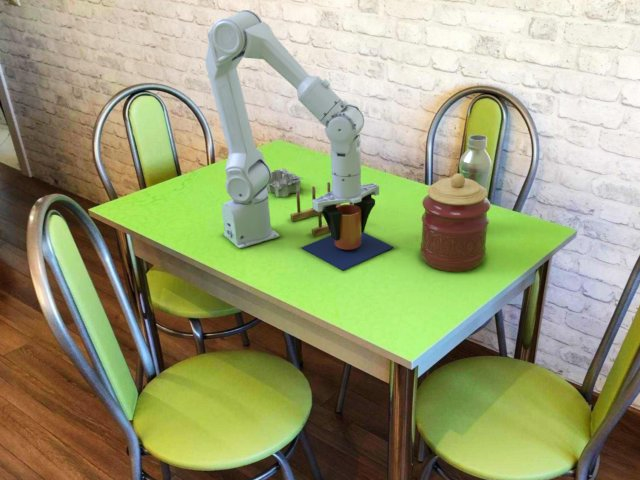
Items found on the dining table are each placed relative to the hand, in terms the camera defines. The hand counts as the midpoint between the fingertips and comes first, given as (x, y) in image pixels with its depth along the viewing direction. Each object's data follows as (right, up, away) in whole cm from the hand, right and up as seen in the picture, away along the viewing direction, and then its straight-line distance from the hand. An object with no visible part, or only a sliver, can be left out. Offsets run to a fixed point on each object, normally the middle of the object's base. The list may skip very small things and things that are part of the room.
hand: (347, 234), depth 142 cm
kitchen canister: (+21, -5, -2) cm, 22 cm away
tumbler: (0, -2, +1) cm, 2 cm away
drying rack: (-5, +4, +12) cm, 14 cm away
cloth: (0, -3, +2) cm, 3 cm away
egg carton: (-17, +15, +28) cm, 36 cm away
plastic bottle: (+26, +2, +9) cm, 28 cm away
